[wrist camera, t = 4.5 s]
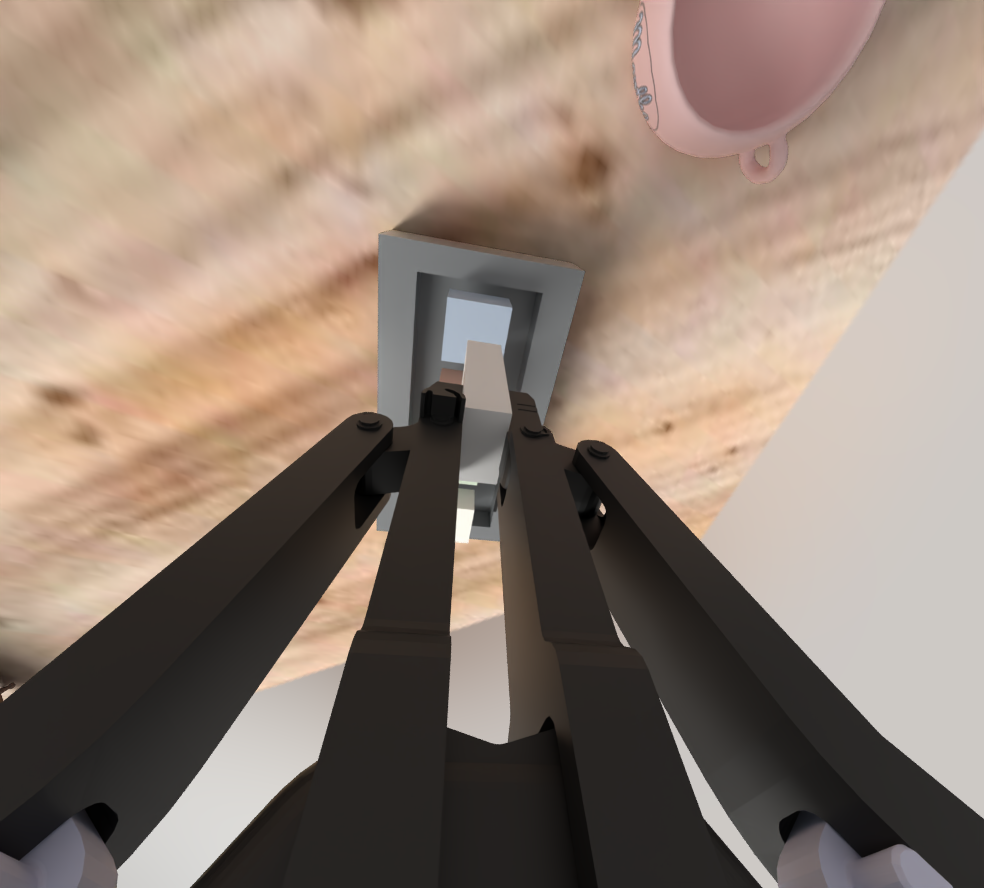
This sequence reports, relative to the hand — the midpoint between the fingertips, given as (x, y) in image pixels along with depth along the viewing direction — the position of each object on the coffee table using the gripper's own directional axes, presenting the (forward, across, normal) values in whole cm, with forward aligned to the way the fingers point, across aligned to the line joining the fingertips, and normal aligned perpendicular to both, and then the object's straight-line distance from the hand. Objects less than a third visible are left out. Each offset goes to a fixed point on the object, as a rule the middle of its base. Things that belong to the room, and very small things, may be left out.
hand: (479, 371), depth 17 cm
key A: (+8, 0, 0) cm, 8 cm away
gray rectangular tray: (+12, 0, -7) cm, 14 cm away
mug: (+12, +11, +15) cm, 22 cm away
